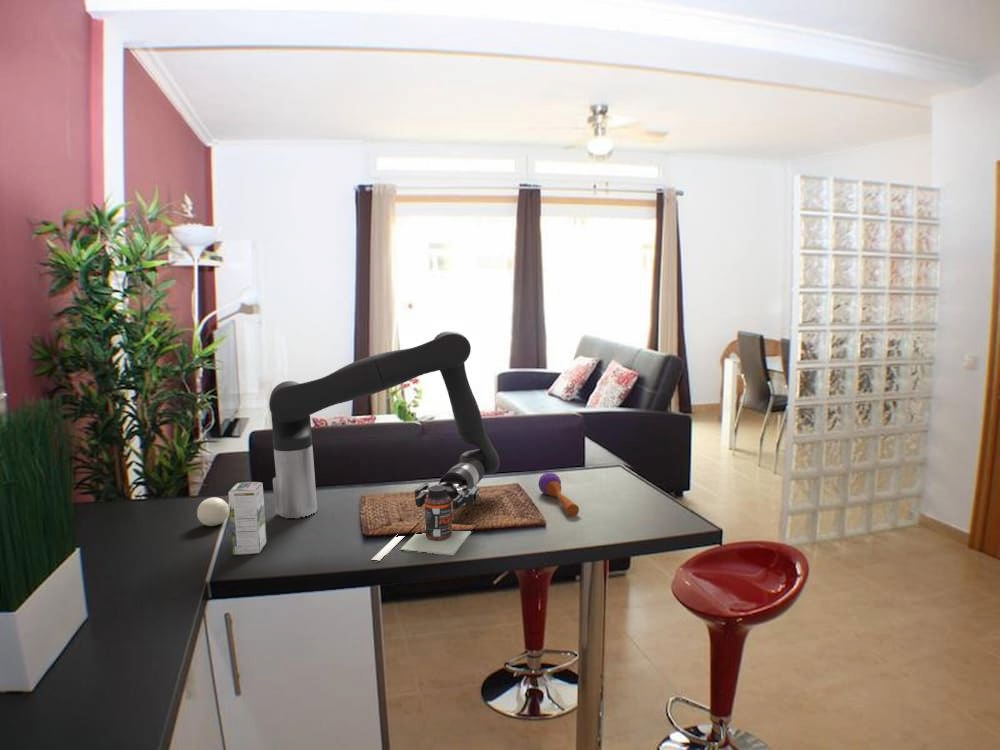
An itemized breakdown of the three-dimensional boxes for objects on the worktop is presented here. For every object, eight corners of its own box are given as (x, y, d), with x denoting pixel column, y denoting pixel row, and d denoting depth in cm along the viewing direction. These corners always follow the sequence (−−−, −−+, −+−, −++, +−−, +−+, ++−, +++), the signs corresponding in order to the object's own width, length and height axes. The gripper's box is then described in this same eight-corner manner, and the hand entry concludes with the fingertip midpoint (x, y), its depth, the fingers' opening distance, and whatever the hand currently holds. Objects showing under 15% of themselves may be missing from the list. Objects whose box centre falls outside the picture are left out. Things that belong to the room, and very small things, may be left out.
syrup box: (241, 544, 147) (235, 482, 145) (268, 543, 147) (262, 480, 145) (232, 555, 141) (226, 490, 139) (261, 553, 142) (255, 489, 139)
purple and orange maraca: (558, 503, 157) (533, 472, 176) (563, 525, 159) (537, 492, 177) (582, 496, 158) (554, 466, 177) (585, 517, 160) (558, 486, 179)
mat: (400, 550, 141) (400, 548, 141) (427, 522, 157) (427, 521, 157) (453, 555, 138) (453, 553, 138) (475, 526, 153) (475, 525, 153)
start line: (371, 560, 137) (371, 559, 137) (412, 521, 158) (412, 520, 158) (380, 561, 136) (380, 560, 136) (420, 522, 157) (420, 521, 157)
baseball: (236, 520, 162) (234, 494, 161) (215, 531, 155) (212, 504, 154) (214, 517, 164) (212, 492, 163) (192, 528, 157) (189, 501, 156)
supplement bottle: (442, 543, 144) (440, 493, 142) (420, 538, 146) (418, 490, 145) (457, 533, 149) (455, 485, 147) (435, 529, 152) (433, 482, 150)
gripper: (431, 465, 162) (405, 486, 146) (487, 468, 158) (466, 490, 142) (433, 494, 163) (407, 518, 147) (488, 498, 159) (467, 523, 143)
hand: (436, 504), depth 145 cm, fingers open, 8 cm apart
